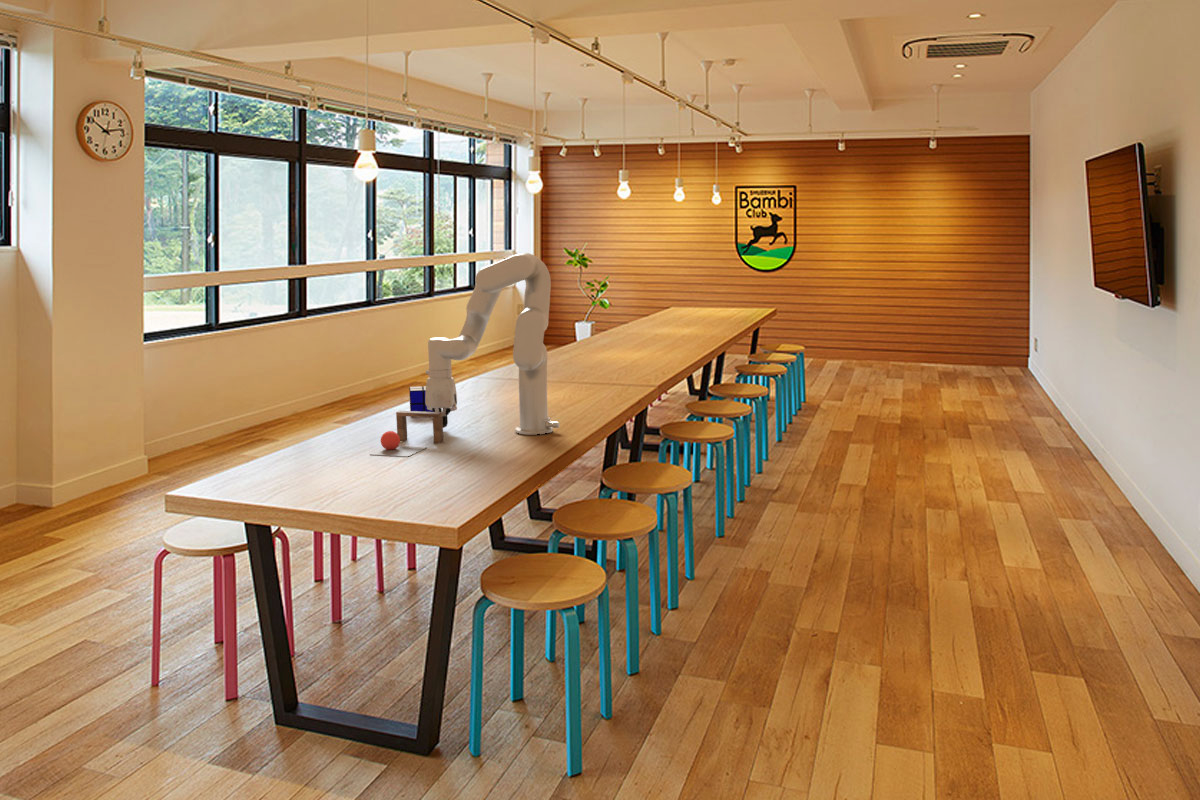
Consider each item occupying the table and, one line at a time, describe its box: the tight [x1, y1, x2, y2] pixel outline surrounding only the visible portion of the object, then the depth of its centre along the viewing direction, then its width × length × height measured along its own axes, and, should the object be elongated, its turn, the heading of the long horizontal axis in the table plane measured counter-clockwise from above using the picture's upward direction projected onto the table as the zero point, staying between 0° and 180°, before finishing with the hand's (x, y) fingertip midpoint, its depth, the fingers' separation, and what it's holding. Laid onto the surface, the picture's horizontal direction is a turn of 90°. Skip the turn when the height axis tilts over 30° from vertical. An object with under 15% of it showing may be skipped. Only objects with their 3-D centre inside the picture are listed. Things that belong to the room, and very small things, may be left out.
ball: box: [380, 430, 401, 450], centre depth 317 cm, size 6×6×6 cm
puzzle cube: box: [408, 385, 433, 412], centre depth 377 cm, size 10×10×10 cm
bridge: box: [395, 410, 444, 444], centre depth 329 cm, size 3×15×10 cm, turn 73°
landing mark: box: [369, 445, 428, 458], centre depth 315 cm, size 13×13×1 cm
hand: (442, 426), depth 345 cm, fingers closed
